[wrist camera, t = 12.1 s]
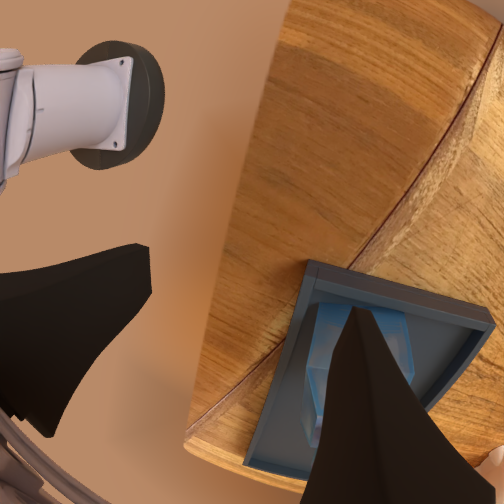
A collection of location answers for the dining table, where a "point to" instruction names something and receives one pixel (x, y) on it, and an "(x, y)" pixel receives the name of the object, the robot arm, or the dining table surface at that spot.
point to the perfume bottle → (320, 356)
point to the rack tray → (421, 341)
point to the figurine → (494, 471)
